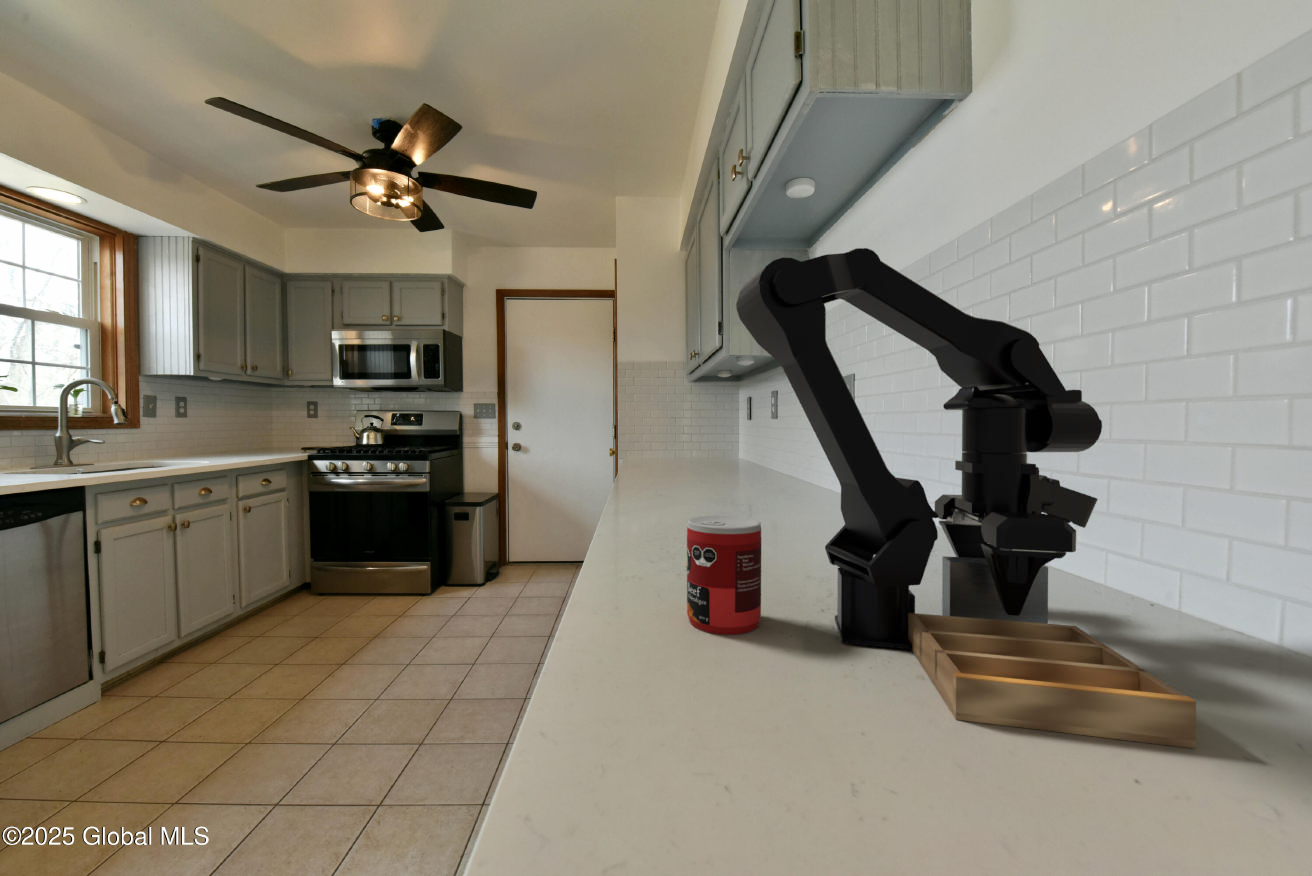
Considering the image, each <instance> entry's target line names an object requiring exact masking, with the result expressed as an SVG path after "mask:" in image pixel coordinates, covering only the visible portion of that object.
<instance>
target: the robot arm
mask: <svg viewBox="0 0 1312 876" xmlns="http://www.w3.org/2000/svg"><path fill="white" fill-rule="evenodd" d="M736 300H737V301H736V304H735V305H736V306H735V307H736V312H737V315H738V317H739V319H740V321H741V324H743V326H745V329H746V330H747V331H748V333H750V335H751V336H752V338H753V340H754V341H755V342H756V343H757V344H758V345H759V347H761V348H762V349H763V350H764V351H766V353H768V354H769V355H770V356H771V357H772V358H773V359H775V360H776V361H777V362H778V363H779V365H780V367H781V368H782V369H783V372H784V374H785V375H786V379H787V380H788V381H789V383H790V384H789V385H791V387H792V389H793V391H794V394H795V395H796V397H797V399H798V402H799V404H800V406H801V408H802V409H803V412H804V414H805V416H806V418H807V420H808V422H809V424H810V426H811V428H812V430H813V432H814V434H815V436H816V438H817V440H818V441H819V444H820V446H821V448H822V450H823V452H824V454H825V456H826V458H827V459H828V462H829V465H830V466H831V468H832V470H833V473H834V475H835V476H836V478H837V480H838V482H839V485H840V512H841V516H842V519H843V521H844V524H843V526H842V527H841V528H840V529H839V531H837V532H836V534H835V535H834V536H833V537H832V538H831V539H830V540H829V541H828V542H827V543H826V545H825V546H824V548H825V553H826V555H827V558H828V562H829V564H830V565H832V566H836V567H837V611H836V612H837V613H836V615H834V622H835V626H836V629H837V631H838V634H839V638H840V641H841V642H842V643H844V644H852V645H860V646H861V645H863V646H871V647H872V646H873V647H881V648H882V647H884V648H893V649H894V648H895V649H904V650H911V649H912V644H911V642H910V640H909V639H908V614H909V613H916V595H915V594H914V593H913V592H912V591H911V590H910V587H911V586H919V585H921V584H922V580H923V577H924V575H925V571H926V568H927V565H928V562H929V559H930V556H931V553H932V551H933V549H934V546H935V542H936V541H937V540H938V538H939V535H938V528H937V525H936V522H935V520H934V519H937V518H938V519H939V520H938V524H939V526H940V527H941V528H942V530H943V532H944V534H945V537H946V538H947V540H948V543H949V545H950V546H951V549H952V551H953V554H954V555H955V557H965V558H984V559H986V560H987V563H988V566H989V569H990V572H991V575H992V577H993V580H994V583H995V586H996V589H997V592H998V595H999V597H1000V600H1001V603H1002V605H1003V608H1004V610H1005V613H1006V614H1008V615H1015V616H1018V615H1020V613H1021V611H1022V609H1023V606H1024V604H1025V601H1026V599H1027V597H1028V594H1029V592H1030V589H1031V587H1032V585H1033V582H1034V580H1035V578H1036V576H1037V574H1038V572H1039V570H1040V568H1041V567H1042V566H1043V565H1045V566H1046V564H1048V563H1050V562H1052V561H1053V560H1056V559H1063V558H1064V557H1065V556H1066V555H1067V553H1075V552H1076V551H1077V530H1076V528H1074V527H1073V526H1072V525H1071V524H1070V523H1072V524H1073V525H1076V526H1078V527H1080V528H1085V529H1086V528H1087V527H1086V526H1087V524H1088V522H1089V520H1090V518H1091V515H1092V513H1093V510H1094V509H1095V507H1096V504H1097V502H1098V497H1097V498H1096V497H1094V496H1091V495H1089V494H1086V493H1083V492H1080V491H1077V490H1075V489H1071V488H1068V487H1064V486H1062V485H1061V481H1060V480H1059V479H1055V478H1050V477H1048V476H1046V475H1044V474H1040V469H1039V467H1038V466H1037V464H1036V463H1028V453H1079V452H1084V451H1086V450H1089V449H1090V448H1092V447H1093V446H1094V445H1095V443H1097V442H1098V440H1099V439H1100V437H1101V433H1102V429H1103V421H1102V420H1101V419H1100V417H1099V413H1098V412H1097V411H1096V409H1095V407H1093V406H1092V405H1091V404H1089V402H1086V401H1083V391H1082V390H1081V389H1066V387H1065V386H1064V385H1063V383H1062V381H1061V380H1060V378H1059V376H1058V375H1057V373H1056V371H1055V370H1054V368H1053V367H1052V365H1051V363H1050V361H1049V360H1048V359H1047V357H1046V356H1045V354H1044V352H1043V351H1042V349H1041V348H1040V343H1039V341H1038V340H1037V338H1036V337H1035V336H1034V335H1033V334H1032V333H1031V332H1029V331H1027V330H1025V329H1023V328H1020V327H1017V326H1014V325H1012V324H1010V323H1006V322H1004V321H1002V320H994V319H987V318H982V317H981V318H980V317H976V316H973V315H970V314H968V313H965V312H964V311H962V310H961V309H959V308H958V307H956V306H954V305H953V304H951V303H949V302H948V301H947V300H945V299H943V298H941V297H939V296H938V295H937V294H935V293H934V292H932V291H930V290H928V289H927V288H925V287H924V286H922V285H920V284H919V283H917V282H916V281H914V280H912V279H911V278H909V277H908V276H906V275H904V274H903V273H901V272H899V271H898V270H896V269H894V268H893V267H892V266H890V265H888V264H887V263H885V262H883V261H882V260H881V259H880V256H879V255H878V254H877V253H876V252H875V250H872V249H870V248H867V247H863V248H862V247H860V248H859V247H858V248H854V249H852V250H850V251H847V252H843V253H842V252H841V253H829V254H823V255H819V256H816V257H812V258H810V259H806V260H798V259H795V258H793V257H779V258H777V259H774V260H772V261H771V262H769V263H768V264H767V265H766V266H764V267H763V268H762V269H761V270H760V271H758V272H757V273H756V274H755V275H754V276H753V277H752V278H750V280H749V281H747V282H746V283H745V284H744V285H743V286H742V288H741V289H740V291H739V293H738V297H737V299H736ZM837 300H842V301H845V302H847V303H848V304H849V305H851V306H853V307H855V308H857V309H858V310H860V311H862V312H863V313H865V314H867V315H868V316H870V317H871V318H874V320H877V321H878V322H880V323H881V324H883V325H884V326H887V327H889V328H890V329H892V331H895V332H896V333H898V334H900V335H901V336H903V337H905V338H906V339H908V340H910V341H911V342H913V343H915V344H917V345H918V346H920V347H921V348H923V349H925V350H926V351H928V352H929V353H930V354H931V355H932V356H934V358H935V360H936V363H937V364H938V368H939V369H940V371H942V372H943V373H944V374H945V375H946V376H947V377H948V378H949V379H951V380H952V381H953V382H954V383H956V385H957V386H959V387H960V388H959V389H958V391H957V393H956V394H955V395H953V396H952V397H951V398H950V399H948V400H947V401H946V402H944V404H943V409H944V410H946V411H962V413H961V421H962V423H961V460H955V462H954V463H955V467H954V468H955V469H954V470H956V471H961V494H942V495H941V496H939V497H938V498H937V499H935V501H934V510H933V508H932V506H931V505H930V504H929V503H930V502H929V501H928V498H927V494H926V491H925V488H924V487H923V485H922V484H921V482H920V481H919V480H917V479H910V478H903V477H896V476H895V475H894V474H893V473H892V472H891V471H890V470H889V469H888V466H887V464H886V462H885V460H884V459H883V457H882V454H881V452H880V450H879V448H878V446H877V444H876V442H875V440H874V438H873V435H872V434H871V432H870V430H869V428H868V426H867V424H866V422H865V420H864V417H863V416H862V413H861V410H860V409H859V407H858V405H857V403H856V401H855V399H854V397H853V395H852V393H851V391H850V389H849V387H848V385H847V383H846V381H845V378H844V377H843V374H842V373H841V370H840V368H839V366H838V364H837V362H836V360H835V358H834V356H833V354H832V352H831V350H830V347H829V345H828V342H827V339H826V338H827V334H826V333H827V332H826V331H827V330H826V329H827V327H826V326H827V325H826V322H827V315H826V313H827V311H826V310H827V309H826V304H828V303H831V302H834V301H837Z"/></svg>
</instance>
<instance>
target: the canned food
mask: <svg viewBox="0 0 1312 876" xmlns="http://www.w3.org/2000/svg"><path fill="white" fill-rule="evenodd" d="M686 525H687V526H686V613H687V617H688V620H689V623H690V624H691V625H692V626H693V627H694V628H695V629H698V630H701V631H702V632H706V633H709V634H715V635H724V636H727V635H728V636H734V635H743V634H747V633H750V632H753V631H754V630H756V629H757V628H758V627H759V624H760V622H761V619H762V526H761V522H760V521H759V520H756V519H754V518H750V517H743V516H737V515H736V516H734V515H703V516H695V517H692V518H690V519H688V520H687V524H686Z"/></svg>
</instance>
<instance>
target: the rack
mask: <svg viewBox="0 0 1312 876" xmlns="http://www.w3.org/2000/svg"><path fill="white" fill-rule="evenodd" d="M908 639H909V640H910V642H911V644H912V649H910V650H911V651H912V653H913V655H914V656H915V658H916V659H917V661H918V663H919V664H920V665H921V668H922V669H923V671H924V672H925V673H926V675H927V677H928V679H929V680H930V681H931V683H932V684H933V686H934V688H935V689H936V691H937V692H938V694H939V696H940V697H941V699H942V700H943V702H944V703H945V705H946V706H947V709H949V711H950V713H951V714H952V715H953V718H954V719H955V720H957V721H966V722H973V723H974V722H975V723H982V724H989V725H990V724H991V725H997V726H1007V727H1014V728H1015V727H1016V728H1023V729H1031V730H1041V731H1048V732H1058V733H1063V734H1064V733H1065V734H1073V735H1081V736H1088V737H1089V736H1090V737H1096V738H1104V739H1113V740H1120V741H1121V740H1122V741H1131V742H1137V743H1148V744H1155V745H1162V746H1163V745H1165V746H1170V747H1179V748H1186V749H1187V748H1188V749H1197V746H1196V743H1197V740H1196V739H1197V736H1196V735H1197V701H1196V700H1195V699H1193V698H1192V697H1190V696H1187V695H1185V694H1183V693H1181V692H1180V691H1179V690H1177V689H1175V688H1174V687H1172V686H1171V685H1169V684H1168V683H1166V682H1164V681H1163V680H1161V679H1159V678H1158V677H1156V675H1154V674H1152V673H1150V672H1148V671H1147V670H1146V669H1144V668H1142V667H1141V666H1139V665H1137V664H1136V663H1135V662H1134V661H1132V660H1129V658H1127V657H1125V656H1123V655H1122V654H1120V653H1119V652H1117V651H1116V650H1114V649H1113V648H1111V647H1110V646H1108V645H1106V644H1105V643H1103V642H1102V641H1100V640H1098V639H1097V638H1095V637H1094V636H1092V635H1090V634H1089V633H1087V632H1086V631H1085V630H1083V629H1081V628H1080V627H1078V626H1076V625H1069V624H1067V625H1066V624H1054V623H1048V624H1045V623H1032V622H1019V621H1006V620H994V619H981V618H968V617H955V616H942V614H940V615H939V614H929V613H926V614H925V613H916V612H915V613H909V614H908Z"/></svg>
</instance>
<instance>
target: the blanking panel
mask: <svg viewBox="0 0 1312 876" xmlns="http://www.w3.org/2000/svg"><path fill="white" fill-rule="evenodd" d="M941 559H942V564H941V565H942V572H941V573H942V574H941V575H942V577H941V578H942V580H941V581H942V589H941V590H942V595H941V596H942V597H941V600H942V601H941V604H942V605H941V606H942V607H941V610H942V611H941V615H942V616H955V617H968V618H981V619H994V620H1006V621H1019V622H1032V623H1045V624H1049V617H1048V616H1049V611H1048V610H1049V566H1047V565H1046V564H1045V565H1043V566H1042V567H1041V568H1040V570H1039V572H1038V574H1037V576H1036V578H1035V580H1034V582H1033V585H1032V587H1031V589H1030V592H1029V594H1028V597H1027V599H1026V601H1025V604H1024V606H1023V609H1022V611H1021V613H1020V615H1018V616H1015V615H1008V614H1006V613H1005V610H1004V608H1003V605H1002V603H1001V600H1000V597H999V595H998V592H997V589H996V586H995V583H994V580H993V577H992V575H991V572H990V569H989V566H988V563H987V560H986V559H984V558H965V557H956V556H943V555H942V558H941Z"/></svg>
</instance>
